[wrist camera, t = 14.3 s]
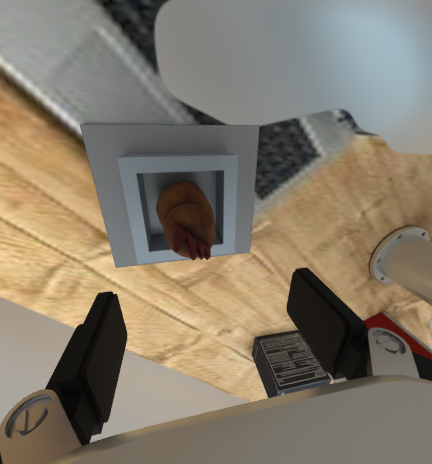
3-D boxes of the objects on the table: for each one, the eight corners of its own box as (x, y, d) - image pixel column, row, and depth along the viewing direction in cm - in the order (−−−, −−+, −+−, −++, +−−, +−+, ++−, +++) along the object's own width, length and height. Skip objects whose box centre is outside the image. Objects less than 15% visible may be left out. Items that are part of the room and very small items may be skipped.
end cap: (256, 125, 26) (276, 123, 21) (247, 249, 34) (261, 268, 29) (83, 124, 22) (59, 121, 17) (117, 263, 30) (107, 288, 25)
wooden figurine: (149, 190, 26) (129, 248, 12) (190, 168, 26) (213, 202, 12) (177, 232, 29) (185, 315, 15) (213, 212, 29) (252, 279, 15)
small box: (250, 357, 46) (271, 413, 37) (254, 336, 43) (277, 391, 34) (293, 349, 48) (323, 400, 39) (299, 329, 45) (332, 379, 36)
